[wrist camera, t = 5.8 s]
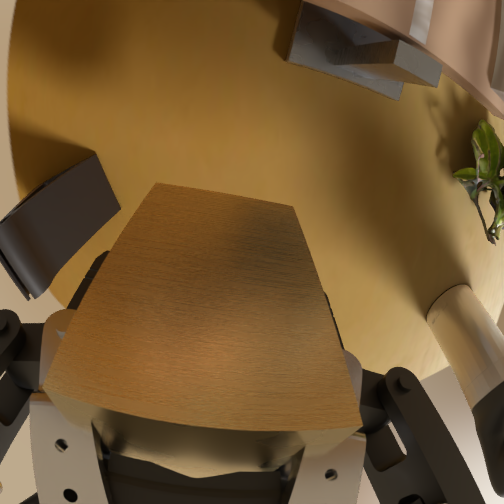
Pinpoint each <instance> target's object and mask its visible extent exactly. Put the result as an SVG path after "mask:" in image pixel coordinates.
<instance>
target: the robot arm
mask: <svg viewBox="0 0 504 504" xmlns="http://www.w3.org/2000/svg"><path fill="white" fill-rule="evenodd" d="M109 252H110V251H105V252H104V253H103V254H101V255H100V256H98V257H97V258H96V259H95V261H94V262H93V264H92V266H91V267H90V270H88V272H87V274H86V275H85V278H84V279H83V280H82V282H81V284H80V285H79V287H78V289H77V291H76V292H75V294H74V296H73V298H72V299H71V301H70V303H69V305H68V307H67V308H66V309H63V310H59V311H57V312H55V313H53V314H52V315H50V317H48V319H47V320H46V322H45V323H23V324H22V323H21V322H20V320H19V317H18V316H17V314H16V313H15V312H13V311H11V310H7V309H3V310H0V376H1V375H2V374H3V372H4V371H6V373H5V374H4V375H3V377H2V378H1V380H0V463H1V462H2V460H3V458H4V456H5V454H6V452H7V451H8V449H9V447H10V445H11V443H12V441H13V440H14V438H15V436H16V435H17V433H18V431H19V430H20V428H21V426H22V425H23V423H24V421H25V420H26V418H27V416H28V415H29V413H30V436H31V449H32V459H33V467H34V475H35V481H36V486H37V492H36V493H35V494H34V495H32V496H30V497H29V498H27V499H26V500H24V501H23V502H21V503H20V504H356V503H357V498H358V493H359V487H360V481H361V476H362V470H363V467H364V469H365V471H366V474H367V476H368V478H369V480H370V482H371V484H372V487H373V489H374V491H375V493H376V495H377V498H378V500H379V502H380V504H485V501H484V499H483V497H482V495H481V493H480V490H479V488H478V486H477V484H476V482H475V480H474V478H473V476H472V474H471V472H470V470H469V468H468V466H467V464H466V462H465V460H464V458H463V456H462V455H461V453H460V451H459V449H458V447H457V445H456V443H455V442H454V440H453V438H452V436H451V434H450V433H449V431H448V429H447V427H446V426H445V424H444V422H443V420H442V419H441V417H440V415H439V413H438V412H437V410H436V408H435V407H434V405H433V403H432V402H431V400H430V398H429V397H428V395H427V393H426V392H425V390H424V388H423V387H422V385H421V384H420V382H419V380H418V379H417V377H416V376H415V375H414V374H413V373H412V372H411V371H409V370H408V369H405V368H403V367H394V368H392V369H390V370H389V371H388V372H387V373H386V374H385V375H382V374H378V373H375V372H371V371H368V370H365V369H362V367H361V364H360V362H359V361H358V359H357V358H356V357H355V356H354V355H353V354H351V353H350V352H348V351H346V350H344V347H343V343H342V340H341V337H340V334H339V331H338V327H337V324H336V321H335V318H334V317H333V312H332V309H331V308H330V303H329V300H328V297H327V295H326V293H325V292H324V294H325V297H326V300H327V303H328V306H329V309H330V313H331V316H332V319H333V322H334V325H335V328H336V331H337V335H338V338H339V341H340V344H341V348H342V351H343V354H344V358H345V361H346V365H347V368H348V372H349V375H350V379H351V382H352V386H353V389H354V393H355V397H356V400H357V404H358V408H359V412H360V415H361V419H362V423H363V426H362V427H361V428H359V429H358V430H357V431H356V432H354V433H353V434H352V435H350V436H349V437H348V438H346V439H345V440H344V441H342V442H340V443H330V444H319V445H306V446H304V447H303V448H302V449H301V450H299V451H298V452H297V453H295V454H294V455H293V456H292V457H290V458H291V459H290V460H289V461H287V462H286V463H285V464H283V465H282V466H280V467H279V468H278V469H276V470H275V471H270V472H243V471H239V472H234V473H228V474H223V475H216V476H210V477H203V478H193V477H189V476H186V475H184V474H181V473H178V472H175V471H173V470H170V469H168V468H165V467H163V466H160V465H158V464H155V463H153V462H150V461H145V460H140V459H135V458H131V457H127V456H123V455H119V454H115V453H112V452H111V451H110V450H109V448H108V447H107V446H106V445H105V443H104V442H103V441H102V439H101V438H100V437H101V435H100V433H99V432H98V430H97V429H96V427H95V426H94V424H93V423H92V422H91V420H88V419H85V418H81V417H78V416H75V415H72V414H70V413H67V412H64V411H61V410H58V409H57V407H56V406H55V405H54V403H53V402H52V401H51V399H50V398H49V397H48V395H47V394H46V392H45V391H44V389H43V388H42V386H43V384H44V381H45V379H46V376H47V374H48V371H49V369H50V366H51V364H52V362H53V359H54V357H55V355H56V352H57V350H58V348H59V346H60V344H61V341H62V339H63V337H64V335H65V333H66V331H67V329H68V327H69V325H70V323H71V320H72V318H73V316H74V314H75V313H76V311H77V309H78V307H79V305H80V303H81V301H82V299H83V297H84V295H85V293H86V292H87V290H88V288H89V286H90V284H91V283H92V281H93V279H94V277H95V276H96V274H97V272H98V270H99V269H100V267H101V265H102V263H103V262H104V260H105V258H106V257H107V255H108V253H109ZM427 323H428V325H429V327H430V328H431V330H432V332H433V334H434V336H435V338H436V339H437V341H438V343H439V345H440V347H441V349H442V351H443V353H444V355H445V357H446V358H447V360H448V362H449V364H450V366H451V368H452V370H453V372H454V374H455V376H456V379H457V380H458V383H459V385H460V387H461V389H462V391H463V393H464V395H465V398H466V400H467V402H468V405H469V407H470V409H471V411H472V414H473V416H474V419H475V425H476V431H477V435H478V438H479V440H480V444H481V447H482V450H483V454H484V458H485V462H486V467H487V471H488V475H489V479H490V482H491V485H492V487H493V489H494V491H495V492H496V493H497V495H499V496H500V497H504V336H503V334H502V333H501V331H500V330H499V328H498V327H497V325H496V324H495V322H494V321H493V319H492V318H491V316H490V315H489V313H488V312H487V311H486V309H485V308H484V306H483V305H482V303H481V302H480V301H479V299H478V298H477V297H476V295H475V294H474V293H473V291H472V290H471V289H470V287H469V286H467V285H458V286H455V287H453V288H451V289H449V290H448V291H446V292H445V293H444V294H442V295H441V296H440V297H439V298H438V299H437V300H436V301H435V303H434V304H433V305H432V307H431V308H430V310H429V312H428V314H427ZM390 422H392V423H393V425H394V427H395V429H396V431H397V433H398V435H399V437H400V438H401V440H402V442H403V444H404V446H405V448H406V451H407V455H405V454H403V452H402V451H401V449H400V447H399V445H398V443H397V441H396V439H395V437H394V435H393V433H392V431H391V429H390V427H389V425H388V424H389V423H390ZM1 492H2V484H1V483H0V493H1Z"/></svg>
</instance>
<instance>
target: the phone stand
mask: <svg viewBox="0 0 504 504" xmlns="http://www.w3.org/2000/svg"><path fill="white" fill-rule="evenodd" d="M119 210H121V207H120V205H119V203H118V201H117V199H116V197H115V195H114V193H113V191H112V188H111V186H110V184H109V182H108V180H107V177H106V175H105V173H104V171H103V168H102V166H101V164H100V162H99V159H98V157H97V154H95V155H93V156H91V157H89V158H87V159H85V160H83V161H81V162H79V163H77V164H76V165H74V166H72V167H70V168H68V169H66V170H65V171H63V172H61V173H59V174H57V175H56V176H54V177H52V178H51V179H49V180H47V181H46V182H44V183H42V184H41V185H39V186H37V187H36V188H35V189H33V190H32V191H31V192H30V193H29V194H28V195H27V196H26V197H25V198H24V199H22V200H21V201H20V202H19V203H18V204H17V205H16V206H15V207H14V208H13V209H12V210H11V211H10V212H9V213H8V214H7V215H6V216H5V217H4V218H3V219H2V220H1V221H0V262H1V264H2V265H3V267H4V268H5V270H6V271H7V273H8V274H9V276H10V277H11V279H12V280H13V282H14V283H15V284H16V286H17V287H18V289H19V290H20V291H21V293H22V294H23V295H24V297H25V298H26V299H27V300H28V301H29V300H30V297H29V294H30V293H31V294H32V296H33V297H34V299H36V298H38V297H39V296H40V295H41V294H42V293H44V292H45V291H46V289H47V288H48V287H49V286H50V284H51V283H52V281H53V279H54V277H55V276H56V274H57V273H58V271H59V270H60V269H61V268H62V267H63V266H64V265H65V264H66V263H67V261H68V260H69V259H70V258H71V257H72V256H73V255H74V254H75V253H76V252H77V251H78V250H79V249H80V248H81V247H82V246H83V245H84V244H85V243H86V242H87V241H88V240H89V239H90V238H91V237H92V236H93V235H94V234H95V233H96V232H97V231H98V230H99V229H100V228H101V227H102V226H103V225H104V224H105V223H106V222H108V221H109V220H110V219H111V218H112V217H113V216H114V215H115V214H116V213H117V212H118V211H119Z"/></svg>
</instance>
